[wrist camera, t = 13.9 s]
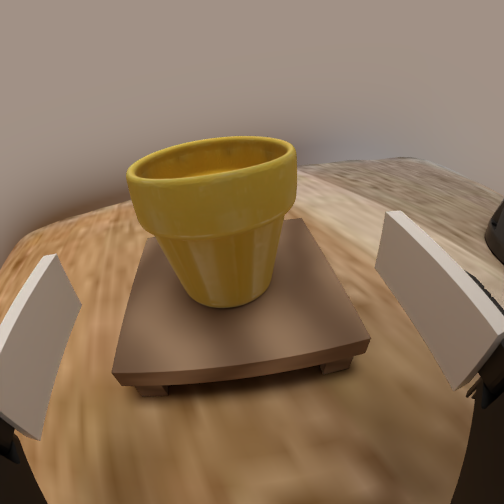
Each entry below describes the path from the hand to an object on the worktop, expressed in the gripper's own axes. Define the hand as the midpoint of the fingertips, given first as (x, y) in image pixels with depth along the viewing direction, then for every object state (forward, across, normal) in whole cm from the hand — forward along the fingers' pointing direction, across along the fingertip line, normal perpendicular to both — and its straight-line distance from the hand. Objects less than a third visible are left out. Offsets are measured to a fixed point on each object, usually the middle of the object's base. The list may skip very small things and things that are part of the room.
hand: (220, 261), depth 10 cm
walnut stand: (+9, 0, -12) cm, 14 cm away
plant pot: (+8, 0, -8) cm, 12 cm away
